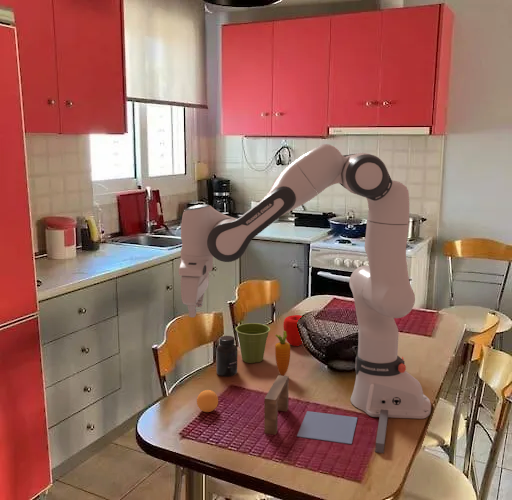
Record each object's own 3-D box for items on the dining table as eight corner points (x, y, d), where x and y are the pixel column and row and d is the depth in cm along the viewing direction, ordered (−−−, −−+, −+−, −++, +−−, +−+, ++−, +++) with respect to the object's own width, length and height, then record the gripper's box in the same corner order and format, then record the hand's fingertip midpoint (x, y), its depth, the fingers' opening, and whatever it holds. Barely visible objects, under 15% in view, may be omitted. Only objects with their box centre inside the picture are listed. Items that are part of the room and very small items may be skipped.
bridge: (288, 408, 165) (288, 376, 163) (275, 434, 150) (275, 400, 148) (278, 407, 165) (278, 375, 163) (264, 433, 151) (264, 398, 149)
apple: (291, 338, 219) (291, 310, 217) (311, 343, 214) (312, 315, 212) (278, 345, 212) (278, 317, 210) (299, 350, 207) (299, 321, 205)
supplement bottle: (234, 378, 185) (234, 342, 182) (214, 376, 186) (213, 341, 183) (239, 369, 191) (239, 335, 189) (219, 367, 192) (219, 333, 190)
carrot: (279, 381, 182) (279, 335, 179) (271, 375, 187) (272, 330, 184) (293, 378, 185) (293, 333, 181) (285, 372, 189) (285, 328, 186)
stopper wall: (387, 418, 159) (388, 410, 158) (383, 453, 142) (384, 443, 141) (380, 417, 159) (380, 409, 159) (375, 452, 142) (375, 442, 142)
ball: (221, 407, 165) (221, 387, 164) (214, 417, 160) (213, 397, 158) (201, 404, 167) (201, 385, 166) (193, 414, 161) (193, 394, 160)
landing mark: (357, 418, 159) (357, 417, 159) (351, 444, 146) (351, 443, 146) (307, 411, 163) (307, 410, 163) (296, 436, 149) (296, 435, 149)
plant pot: (270, 366, 193) (270, 334, 191) (234, 366, 194) (234, 334, 191) (270, 353, 205) (270, 322, 203) (236, 352, 205) (236, 322, 203)
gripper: (193, 255, 171) (192, 300, 173) (177, 270, 151) (176, 321, 153) (214, 256, 170) (213, 301, 173) (201, 272, 150) (200, 323, 153)
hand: (195, 311), depth 163 cm, fingers open, 8 cm apart
